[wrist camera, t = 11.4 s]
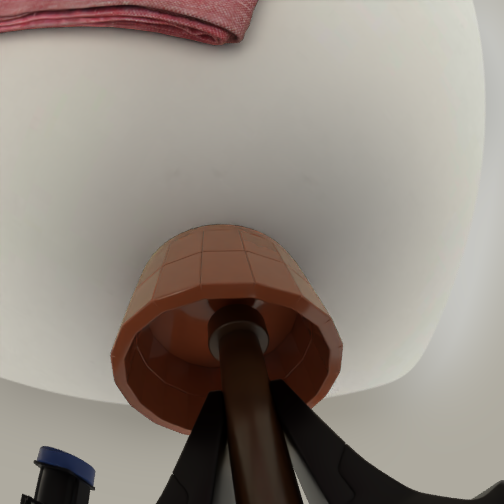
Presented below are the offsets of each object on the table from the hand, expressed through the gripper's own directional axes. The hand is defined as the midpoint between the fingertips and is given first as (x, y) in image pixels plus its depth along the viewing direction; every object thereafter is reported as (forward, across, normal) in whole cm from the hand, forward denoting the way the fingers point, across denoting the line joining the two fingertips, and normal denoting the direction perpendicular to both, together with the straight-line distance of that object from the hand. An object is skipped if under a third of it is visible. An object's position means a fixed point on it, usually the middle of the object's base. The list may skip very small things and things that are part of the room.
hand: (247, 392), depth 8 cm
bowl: (+5, 0, 0) cm, 5 cm away
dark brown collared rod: (+4, 0, 0) cm, 4 cm away
